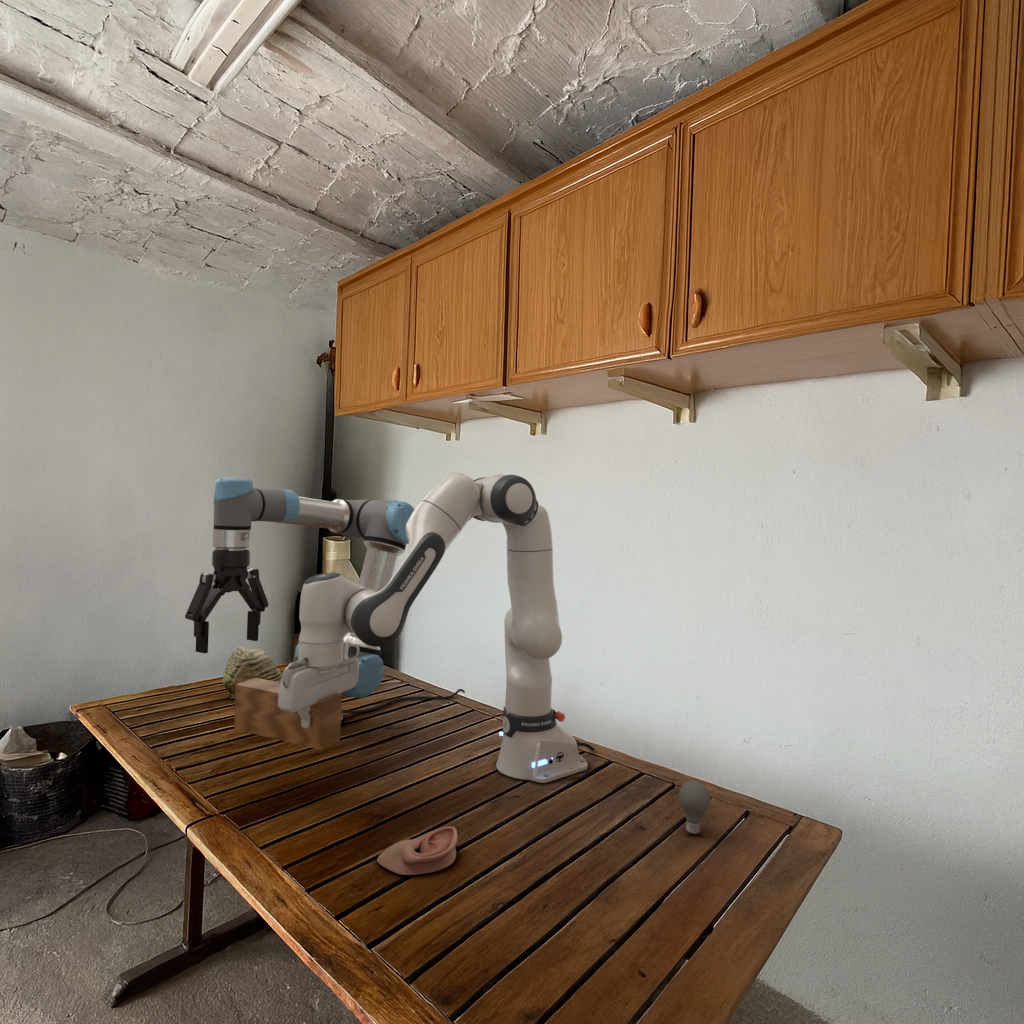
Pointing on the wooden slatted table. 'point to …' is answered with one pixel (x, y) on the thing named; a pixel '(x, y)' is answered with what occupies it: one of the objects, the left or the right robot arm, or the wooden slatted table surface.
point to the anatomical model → (421, 853)
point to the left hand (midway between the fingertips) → (228, 646)
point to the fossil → (249, 668)
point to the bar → (285, 716)
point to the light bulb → (694, 804)
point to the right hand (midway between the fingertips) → (319, 721)
